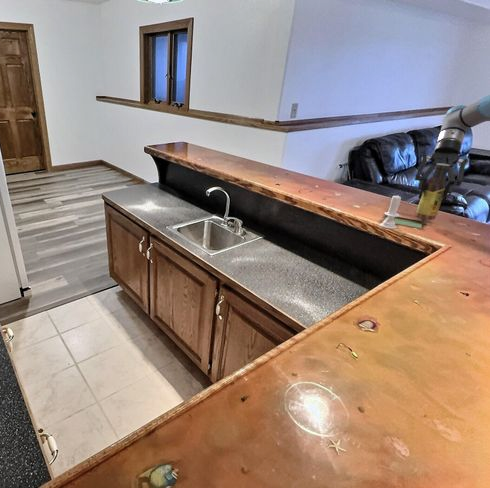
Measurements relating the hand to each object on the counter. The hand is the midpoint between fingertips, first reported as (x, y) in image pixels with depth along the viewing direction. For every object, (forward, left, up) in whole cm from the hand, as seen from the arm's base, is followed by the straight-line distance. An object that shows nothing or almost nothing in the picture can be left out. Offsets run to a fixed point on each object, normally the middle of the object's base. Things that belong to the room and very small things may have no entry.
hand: (431, 198), depth 124 cm
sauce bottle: (0, -4, -9) cm, 9 cm away
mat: (+6, -2, -11) cm, 13 cm away
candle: (+10, +7, -11) cm, 16 cm away
